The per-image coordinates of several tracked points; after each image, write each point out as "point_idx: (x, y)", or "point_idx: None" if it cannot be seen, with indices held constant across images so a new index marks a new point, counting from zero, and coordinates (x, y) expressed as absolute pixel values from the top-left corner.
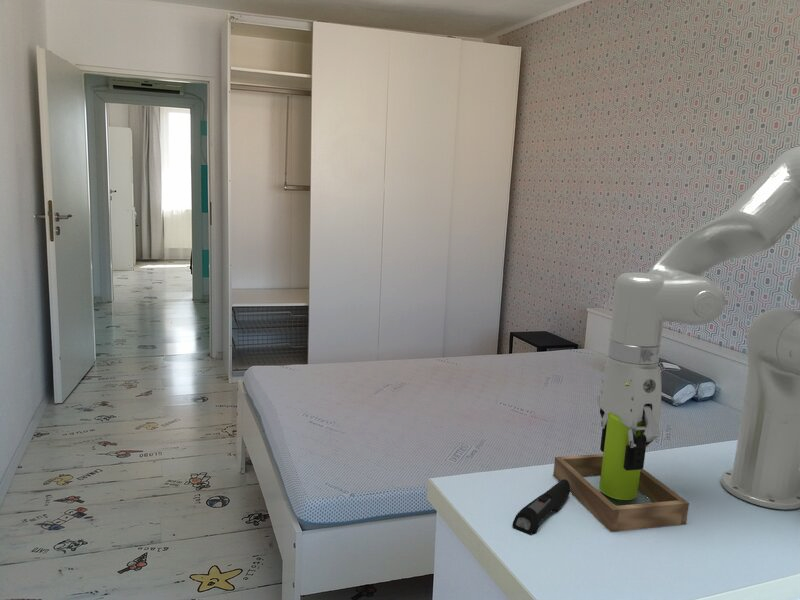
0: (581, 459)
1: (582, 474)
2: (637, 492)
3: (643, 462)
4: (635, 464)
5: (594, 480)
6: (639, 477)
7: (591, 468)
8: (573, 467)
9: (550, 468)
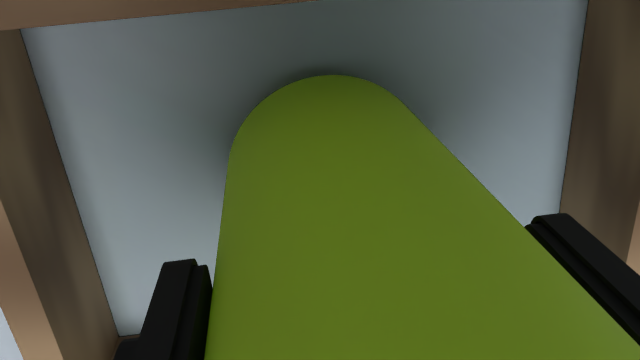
0: (52, 317)
1: (84, 246)
2: (397, 99)
3: (592, 240)
4: None
5: (128, 193)
6: (427, 130)
7: (56, 216)
8: (84, 323)
9: (11, 352)
